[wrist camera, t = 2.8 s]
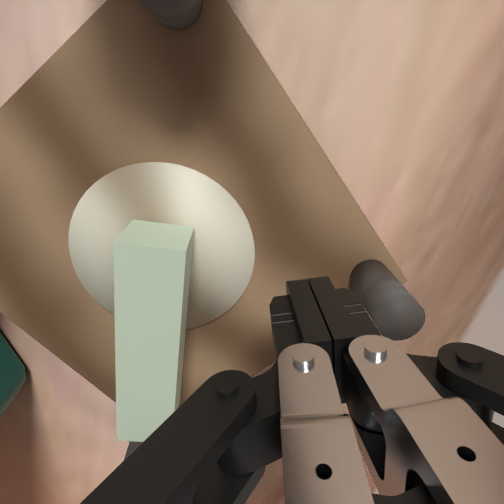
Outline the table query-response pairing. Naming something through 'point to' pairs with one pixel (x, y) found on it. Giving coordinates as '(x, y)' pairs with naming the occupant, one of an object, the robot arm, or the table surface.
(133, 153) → the board
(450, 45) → the table surface
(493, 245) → the table surface
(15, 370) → the teal plastic bottle
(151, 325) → the block
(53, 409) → the table surface
